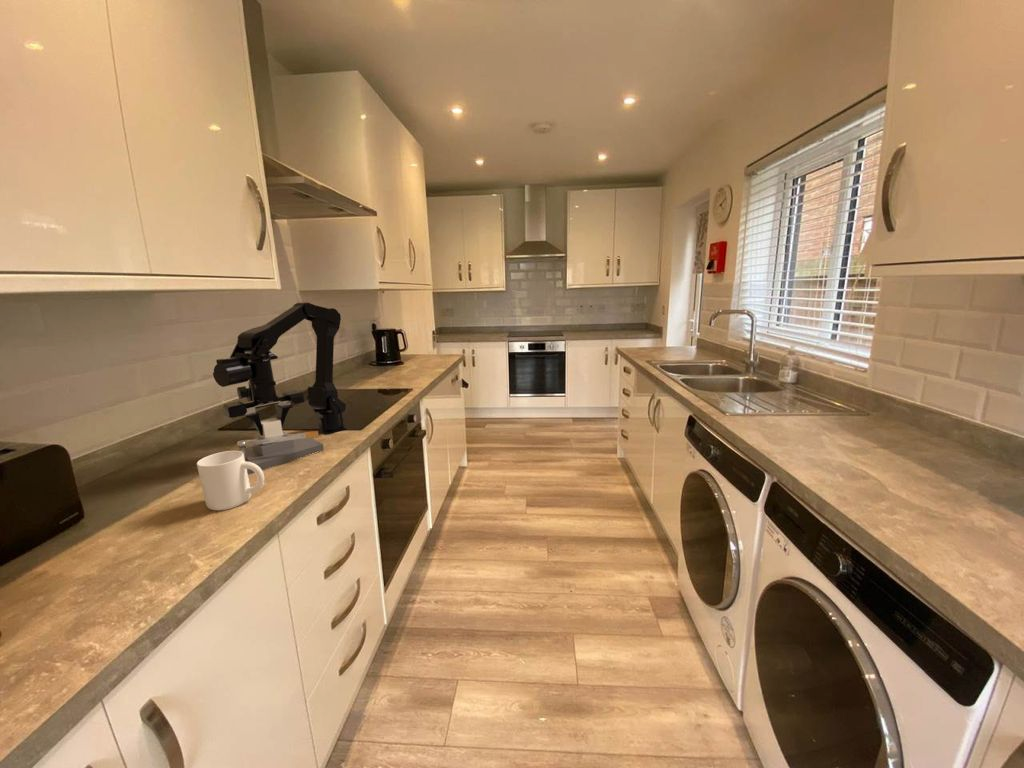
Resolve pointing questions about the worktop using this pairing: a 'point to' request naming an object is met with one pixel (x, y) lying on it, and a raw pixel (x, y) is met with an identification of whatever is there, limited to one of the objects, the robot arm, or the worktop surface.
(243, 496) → the mug
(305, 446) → the socket block
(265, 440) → the latch bar
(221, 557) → the worktop surface
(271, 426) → the plug
